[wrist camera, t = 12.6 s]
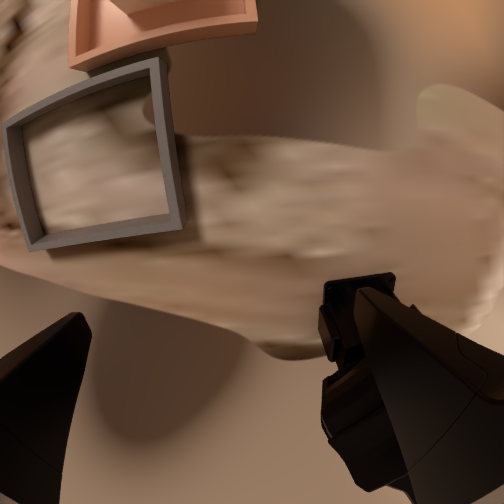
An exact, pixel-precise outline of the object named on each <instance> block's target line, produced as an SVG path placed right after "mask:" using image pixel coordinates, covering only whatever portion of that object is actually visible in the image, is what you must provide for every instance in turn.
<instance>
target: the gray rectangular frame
mask: <svg viewBox="0 0 504 504" xmlns="http://www.w3.org/2000/svg"><path fill="white" fill-rule="evenodd" d="M149 75H150V78H151V89H152V99H153V108H154V117H155V125H156V132H157V140H158V147H159V153H160V160H161V166H162V172H163V178H164V184H165V190H166V196H167V201H168V206H169V211H170V214H163V215H156V216H150V217H143V218H137V219H130V220H124V221H118V222H112V223H106V224H101V225H95V226H90V227H84V228H79V229H74V230H69V231H64V232H59V233H54V234H49V235H43V232H42V228H41V225H40V221H39V218H38V214H37V210H36V207H35V203H34V199H33V194H32V190H31V185H30V181H29V176H28V170H27V165H26V159H25V152H24V145H23V138H22V129H21V126H22V125H24V124H26V123H27V122H29V121H31V120H33V119H35V118H37V117H39V116H41V115H43V114H45V113H47V112H49V111H51V110H53V109H56V108H58V107H60V106H62V105H64V104H67V103H69V102H71V101H74V100H76V99H79V98H81V97H84V96H86V95H89V94H92V93H94V92H97V91H100V90H103V89H106V88H108V87H111V86H114V85H118V84H121V83H124V82H127V81H131V80H134V79H138V78H141V77H145V76H149ZM2 135H3V144H4V151H5V158H6V165H7V170H8V176H9V181H10V186H11V191H12V195H13V199H14V203H15V207H16V211H17V215H18V218H19V222H20V225H21V229H22V232H23V235H24V238H25V241H26V244H27V247H28V250H29V252H34V251H39V250H45V249H51V248H57V247H63V246H69V245H75V244H82V243H88V242H95V241H101V240H108V239H115V238H122V237H129V236H136V235H143V234H150V233H158V232H166V231H173V230H181V229H183V227H184V225H185V223H186V221H187V220H188V219H187V213H186V207H185V202H184V196H183V190H182V184H181V177H180V171H179V164H178V157H177V150H176V143H175V136H174V129H173V120H172V112H171V103H170V94H169V84H168V73H167V63H166V62H164V61H163V60H162V59H161V58H159V57H155V58H151V59H148V60H144V61H140V62H137V63H133V64H130V65H127V66H124V67H120V68H117V69H114V70H111V71H109V72H106V73H103V74H100V75H98V76H95V77H92V78H90V79H87V80H85V81H82V82H80V83H78V84H75V85H73V86H71V87H68V88H66V89H64V90H62V91H60V92H58V93H55V94H53V95H51V96H49V97H47V98H45V99H43V100H41V101H40V102H38V103H36V104H34V105H32V106H30V107H29V108H27V109H25V110H23V111H22V112H20V113H18V114H17V115H15V116H13V117H12V118H10V119H8V120H7V121H5V122H4V123H2Z"/></svg>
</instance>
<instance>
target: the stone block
mask: <svg viewBox="0 0 504 504" xmlns="http://www.w3.org/2000/svg"><path fill="white" fill-rule="evenodd" d="M109 1H111V2H112V3H113V4H114V5H115V6H117V7H118V8H119V9H120V10H121V11H123V12H124V13H125V14H126V15H128V14H131V13H134V12H137V11H141V10H144V9H148V8H151V7H155V6H159V5H163V4H167V3H171V2H176V1H181V0H109Z"/></svg>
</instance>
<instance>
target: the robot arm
mask: <svg viewBox="0 0 504 504" xmlns="http://www.w3.org/2000/svg"><path fill="white" fill-rule="evenodd" d="M390 277H391V279H390V280H389V278H390ZM395 281H396V277H395V275H394V274H393V273H392V272H388V273H382V274H375V275H368V276H361V277H354V278H347V279H339V280H332V281H328V282H326V283H325V284H324V291H323V305H321V306H320V308H319V321H318V331H319V334H320V337H321V340H322V343H323V346H324V349H325V352H326V355H327V358H328V360H329V361H330V362H336V364H337V366H338V369H339V370H338V371H337V372H335V373H334V374H333V375H331V376H328V377H326V378H325V379H324V380H323V385H322V406H321V423H322V424H321V425H322V428H323V430H324V432H325V434H326V436H327V438H328V443H329V444H330V445H331V446H332V447H333V448H334V450H335V451H337V453H338V454H339V455H340V457H341V458H342V459H343V461H344V462H345V464H346V466H347V467H348V469H349V471H350V474H351V475H352V478H353V480H354V482H355V484H356V485H357V486H359V487H360V488H362V489H363V490H365V491H366V492H372V491H374V490H377V489H379V488H381V487H383V486H388V487H391V488H394V489H397V490H400V491H403V492H404V493H405V494H406V495H407V497H408V498H409V500H410V501H411V503H412V504H504V355H502V354H500V353H497V352H495V351H493V350H491V349H488V348H486V347H484V346H482V345H480V344H477V343H476V342H474V341H472V340H470V339H468V338H466V337H464V336H463V335H461V334H459V333H456V332H455V331H453V330H451V329H449V328H448V327H446V326H444V325H442V324H440V323H438V322H436V321H434V320H432V319H431V318H429V317H427V316H425V315H423V314H422V313H421V312H420V311H419V310H418V308H417V307H416V306H415V305H414V304H412V305H411V306H410V307H408V306H406V305H404V304H402V303H401V302H400V301H399V299H398V298H397V297H396V295H395V294H394V293H393V291H394V286H395ZM330 286H332V288H330V289H328V288H329V287H330ZM91 339H92V332H91V329H90V327H89V325H88V323H87V321H86V319H85V317H84V315H83V314H82V313H80V312H71V313H69V314H68V315H66V316H65V317H63V318H61V319H60V320H58V321H57V322H55V323H54V324H52V325H50V326H49V327H47V328H46V329H44V330H43V331H41V332H39V333H38V334H36V335H35V336H33V337H32V338H30V339H29V340H27V341H26V342H24V343H23V344H21V345H20V346H18V347H17V348H16V349H14V350H12V351H11V352H9V353H8V354H6V355H5V356H3V357H2V358H1V359H0V504H59V500H60V490H61V480H62V472H63V465H64V458H65V452H66V447H67V441H68V436H69V432H70V427H71V422H72V418H73V413H74V409H75V405H76V401H77V397H78V394H79V390H80V386H81V383H82V379H83V375H84V371H85V367H86V362H87V357H88V352H89V348H90V343H91Z"/></svg>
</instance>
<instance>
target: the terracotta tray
mask: <svg viewBox="0 0 504 504" xmlns="http://www.w3.org/2000/svg"><path fill="white" fill-rule="evenodd" d="M257 25H258V17H257V9H256V2H255V0H181V1H176V2H171V3H167V4H163V5H159V6H155V7H151V8H148V9H144V10H141V11H137V12H134V13H131V14H128V15H126V14H125V13H124V12H123V11H121V10H120V9H119V8H118V7H117V6H115V5H114V4H113V3H112V2H111V1H109V0H71V10H70V22H69V43H68V68H71V69H75V70H79V71H83V72H88V71H91V70H93V69H96V68H98V67H101V66H104V65H106V64H109V63H112V62H115V61H118V60H121V59H124V58H127V57H130V56H134V55H137V54H140V53H144V52H148V51H151V50H155V49H159V48H163V47H168V46H172V45H177V44H182V43H187V42H192V41H198V40H204V39H211V38H218V37H225V36H236V35H248V34H256V30H257Z"/></svg>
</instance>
